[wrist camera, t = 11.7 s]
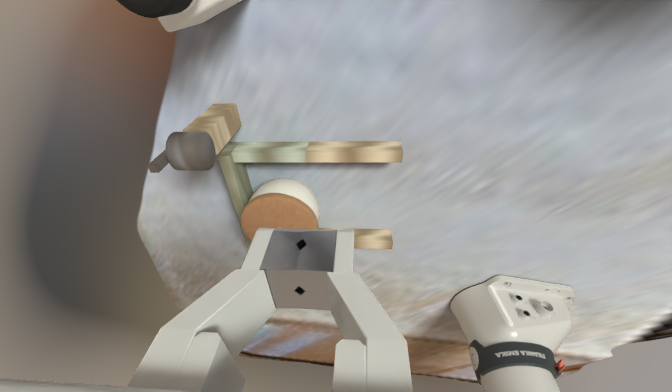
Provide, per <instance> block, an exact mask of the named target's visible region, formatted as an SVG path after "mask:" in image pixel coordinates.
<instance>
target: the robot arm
mask: <svg viewBox="0 0 672 392" xmlns="http://www.w3.org/2000/svg"><path fill="white" fill-rule="evenodd" d="M574 296H575V295H574V292H573V290H572V288H571V287H570V286H565V285H559V284H553V283H547V282H540V281H534V280H528V279H521V278H515V277H509V276H502V275H499V276H495V277H493V278H491V279H489V280H488V281H486V282H485V283H482V284H479V285H476V286H473V287H470V288H468V289H466V290H464V291H462V292H460V293H459V294H458V295H457V296H455V298H454V299H453V300H452V302H451V306H450V308H451V311H452V313H453V314H454V316H455V318H456V319H457V321H458V323H459V325H460V327H461V329H462V331H463V333H464V336H465V338H466V340H467V343H468V346H469V354H470V359H471V363H472V366H473V369H474V371H475V374H476V377H477V380H478V382H479V384H480V385H482V388H483V392H561V391H560V390H559V387H558V385H557V383H556V381H555V379H556V378H557V377H558V376H559V375H560V374H561V371H562V370H563V369H564V368H565V367H566V365H563V366H562V367H561V365H562V364H563V360H562V359H561V360H560V361H559V362H558V363H557V364H556V362H555V360H554V353H555V351H556V350H557V349H558V348H559V347H560V345H561V344H562V343H563V341H564V340H565V339H566V338H567V336H568V335H569V333H570V331H571V329H572V318H571V315H570V312H569V308H570V307H571V305H572V303H573V301H574ZM276 308H302V309H303V308H304V309H317V310H331V313H332V315H333V317H334V319H335V321H336V323H337V325H338V327H339V329H340V332H341V334H342V336H343V338H344V339H341V340H340V341H339V342H338V343H337V344H336V352H335V364H334V376H333V388H332V392H413V388H412V380H411V371H410V363H409V355H408V347H407V341H406V340H405V338H404V337H403V336H402V334H401V333H400V331H399V330H398V329H397V327H396V326H395V324H394V323H393V322H392V320H391V319H390V317H389V316H388V315H387V313H386V312H385V310H384V309H383V308H382V306H381V305H380V303H379V302H378V301H377V299H376V298H375V296H374V295H373V294H372V292H371V291H370V289H369V288H368V287H367V285H366V284H365V282H364V281H363V280H362V278H361V277H360V275H359V274H358V273H354V230H340V229H338V230H333V229H285V228H259V229H258V230H257V231H256V233H255V235H254V238H253V240H252V242H251V245H250V247H249V249H248V252H247V254H246V257H245V259H244V261H243V264H242V266H241V268H240V269H235V270H234V271H232V272H231V273H230V274H229V275H227V276H226V277H225V278H224V279H222V280H221V281H220V282H219V283H217V284H216V285H215V286H213V287H212V288H211V289H210V290H208V291H207V292H206V293H205V294H203V295H202V296H201V297H200V298H198V299H197V300H196V301H194V302H193V303H192V304H191V305H189V306H188V307H187V308H186V309H184V310H183V311H182V312H181V313H179V314H178V315H177V316H176V317H175V318H173V319H172V320H170V321H169V322H168V323H167V324H165V325H164V326H163V327H162V328H161V329H160V330H159V333H158V334H157V336H156V337H155V339H154V341H153V342H152V344H151V346H150V348H149V349H148V351H147V353H146V355H145V357H144V358H143V360H142V362H141V364H140V365H139V367H138V369H137V370H136V372H135V374H134V375H133V377H132V379H131V381H130V382H129V384H128V386H127V387H125V386H110V385H96V384H82V383H68V382H53V381H39V380H25V379H10V378H0V392H242V390H243V386H244V383H245V378H244V376H243V374H242V373H241V371H240V369H239V368H238V366H237V364H236V363H235V361H234V360H235V358H236V357H237V356H238V355H239V354H240V352H241V351H242V350H243V349H244V348H245V346H246V345H247V344H248V343H249V342H250V340H251V339H252V338H253V337H254V336H255V334H256V333H257V332H258V331H259V330H260V328H261V327H262V326H263V325H264V324H265V322H266V321H267V320H268V319H269V318H270V316H271V315H272V314H273V313H274V312H275V310H276Z"/></svg>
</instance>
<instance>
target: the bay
mask: <svg viewBox="0 0 672 392" xmlns="http://www.w3.org/2000/svg"><path fill="white" fill-rule="evenodd" d="M217 157H218V160H219V163H220V166H221V169H222V172H223V175H224V178H225V181H226V184H227V187H228V190H229V192H230V195H231V198H232V201H233V204H234V207H235V210H236V213H237V216H238V219H239V222H240V225H241V214H242V212H243V210H244V208H245V206H246V205H247V203H248V202H249V200H250V198H251V197H252V195H253V192H252V188H251V184H250V181H249V177H248V173H247V170H246V166H245V163H244V162H402V157H403V150H402V146H401V141H379V142H229V143H228V144H227V145H226V146H225V148H224V149H223V150H222V151H221V153H220V154H219V155H218V156H217ZM241 228H242V225H241ZM318 229H327V228H318ZM333 230H338V229H333ZM340 230H354V248H369V249H392V245H393V240H392V232H391V230H379V229H340ZM242 231H243V234H244V237H245V240H246V243H247V246H248V249H249V247H250V245H251V242H252V241H251V240H250V239H249V238H248V236H247V235H246V234H245V232H244V230H243V228H242Z"/></svg>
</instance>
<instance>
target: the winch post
mask: <svg viewBox="0 0 672 392" xmlns="http://www.w3.org/2000/svg"><path fill="white" fill-rule="evenodd" d="M240 127H241V122H240V118H239V114H238V110H237V106H236V104H213V105H212V106H211V107H209V108H208V109H207V110H206V111H205V112H204V113H202V114H201V115H200V116H199V117H198V118H196V119H195V120H194V121H193V122H192V123H191V124H189V125H188V126H187V127H186V128H185V129H184V130H183V132H173V133H172V134H170V136H169V137H168V139H167V142H166V150H164V151H163V152H162V153H161V154H160V155H159V156H158V157H156V158H155V159H154V160H153V161H152V162H151V163H150V164H148V168H149V170H150V172H151V173H159V172H160V171H161V170H162V169H163V168H164V167H165V166H166V165H167V164H168V163H170V165H171V166H172V167H173V168H174V169H176V170H210V169H211V168H212V167H213V165H214V162H215V155H218V154H219V152H220V151H221V150H222V149H223V148H224V146H225V145H226V144H227V143H228V141H229V140H230V139H231V138H232V137H233V135H234V134H235V133H236V132H237V130H238V129H239V128H240Z"/></svg>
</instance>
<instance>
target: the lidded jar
mask: <svg viewBox="0 0 672 392" xmlns="http://www.w3.org/2000/svg"><path fill="white" fill-rule="evenodd" d="M318 224H319V207H318V202H317V200H316V198H315V195H314V194H313V192H312V191H311V190H310V189H309V188H308V187H307V186H306V185H305V184H303V183H301V182H299V181H297V180H294V179H290V178H278V179H273V180H270V181H268V182H266V183H265V184H263V185H262V186H261V187H259V188H258V189H257V190H256V192H255V193H254V194H253V195H252V197H251V198H250V200H249V202H248V203H247V205H246V206H245V208H244V210H243V212H242V214H241V225H242V228H243V230H244V232H245V234H246V235H247V236H248V238H249V239H250V240H251V241H252V240H253V238H254V235H255V233H256V231H257V230H258V229H259V228H285V229H318Z"/></svg>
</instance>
